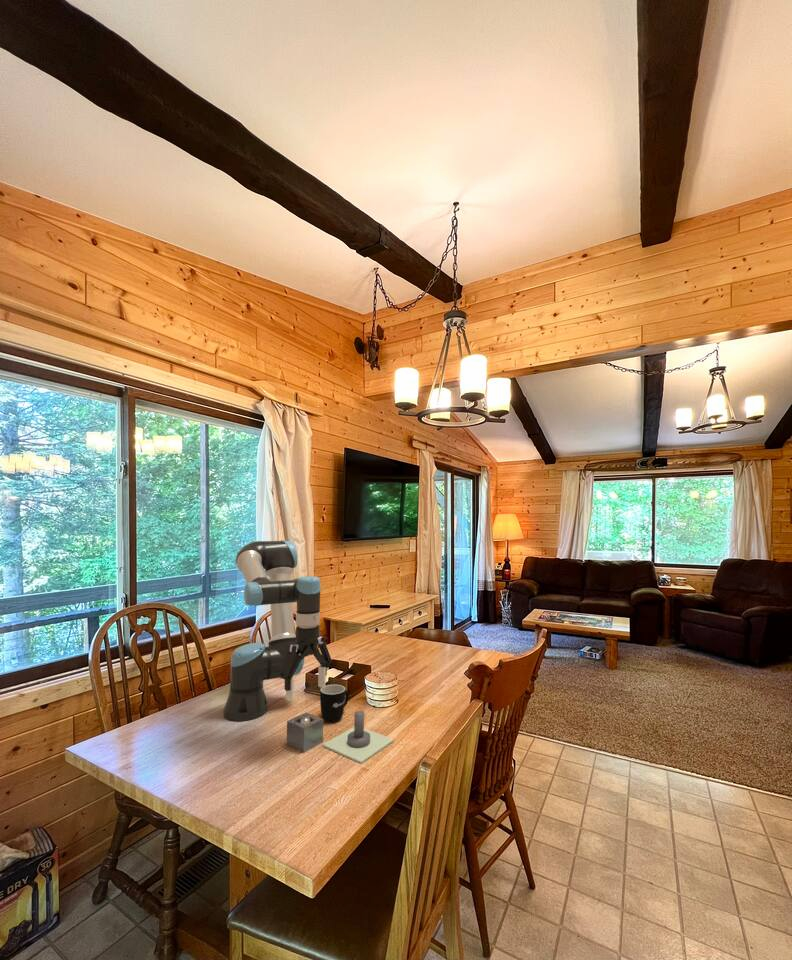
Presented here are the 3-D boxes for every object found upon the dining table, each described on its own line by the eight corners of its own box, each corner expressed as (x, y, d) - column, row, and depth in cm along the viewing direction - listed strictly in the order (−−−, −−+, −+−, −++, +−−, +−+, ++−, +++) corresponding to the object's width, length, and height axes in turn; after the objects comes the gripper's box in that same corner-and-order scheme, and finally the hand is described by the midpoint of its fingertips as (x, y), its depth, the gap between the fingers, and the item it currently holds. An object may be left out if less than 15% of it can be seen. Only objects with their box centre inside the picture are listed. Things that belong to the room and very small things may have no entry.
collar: (286, 744, 137) (287, 721, 137) (305, 734, 143) (306, 712, 144) (303, 752, 132) (304, 728, 133) (322, 741, 139) (323, 719, 139)
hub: (322, 746, 136) (323, 715, 137) (356, 727, 149) (357, 698, 149) (361, 763, 126) (361, 730, 127) (394, 741, 139) (394, 710, 140)
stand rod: (297, 743, 137) (298, 718, 138) (305, 739, 140) (305, 715, 140) (304, 746, 136) (304, 721, 136) (311, 742, 138) (312, 718, 139)
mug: (331, 727, 148) (331, 696, 149) (314, 719, 154) (314, 689, 155) (356, 715, 158) (356, 686, 158) (339, 708, 163) (339, 680, 164)
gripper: (284, 635, 129) (282, 710, 127) (342, 620, 149) (341, 684, 147) (268, 631, 133) (266, 703, 131) (327, 617, 153) (325, 679, 151)
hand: (306, 693), depth 139 cm, fingers open, 13 cm apart
